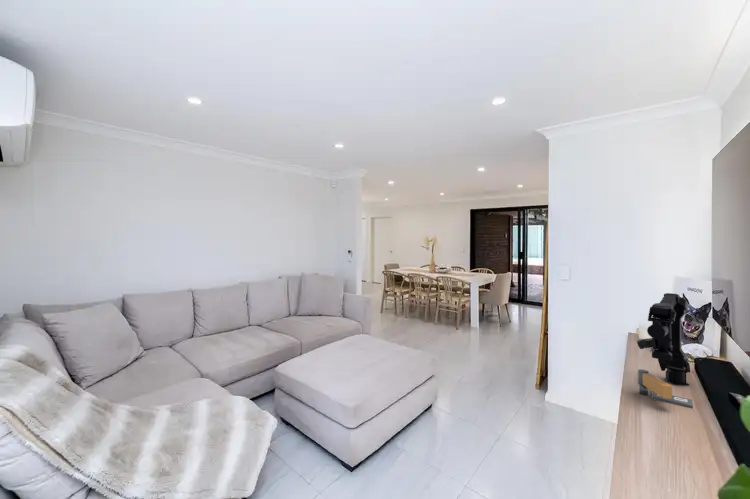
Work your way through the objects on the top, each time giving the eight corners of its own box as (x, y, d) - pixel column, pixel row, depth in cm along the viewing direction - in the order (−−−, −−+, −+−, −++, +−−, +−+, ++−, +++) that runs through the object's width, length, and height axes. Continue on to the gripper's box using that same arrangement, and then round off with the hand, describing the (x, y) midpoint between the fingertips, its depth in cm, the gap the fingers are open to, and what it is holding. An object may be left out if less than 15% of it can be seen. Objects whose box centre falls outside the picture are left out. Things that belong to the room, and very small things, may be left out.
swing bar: (636, 382, 146) (636, 369, 146) (645, 382, 145) (645, 369, 145) (662, 399, 129) (662, 384, 129) (672, 400, 128) (672, 385, 128)
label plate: (651, 398, 139) (651, 395, 139) (653, 393, 144) (652, 390, 144) (692, 408, 130) (692, 404, 130) (692, 402, 135) (692, 398, 135)
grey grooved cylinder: (645, 392, 145) (645, 383, 145) (649, 395, 142) (649, 386, 142) (637, 392, 145) (637, 383, 145) (641, 395, 142) (641, 386, 142)
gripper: (640, 327, 151) (640, 360, 151) (636, 335, 138) (636, 372, 138) (672, 331, 144) (672, 366, 144) (671, 340, 130) (672, 379, 130)
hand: (662, 370), depth 139 cm, fingers closed
